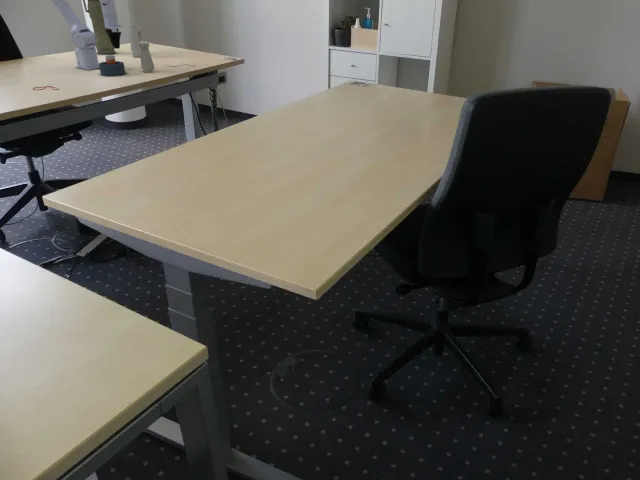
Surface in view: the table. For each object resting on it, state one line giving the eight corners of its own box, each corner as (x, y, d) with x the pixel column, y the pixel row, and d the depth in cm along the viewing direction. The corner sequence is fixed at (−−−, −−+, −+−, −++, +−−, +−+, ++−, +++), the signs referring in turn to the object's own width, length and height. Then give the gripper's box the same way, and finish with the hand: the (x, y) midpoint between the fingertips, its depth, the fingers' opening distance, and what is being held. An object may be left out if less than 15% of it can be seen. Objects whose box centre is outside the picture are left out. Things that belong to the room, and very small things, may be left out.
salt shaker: (152, 73, 246) (147, 42, 240) (140, 72, 246) (134, 42, 240) (156, 70, 251) (152, 40, 245) (144, 70, 251) (139, 40, 245)
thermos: (120, 53, 286) (105, -21, 268) (96, 55, 280) (80, -21, 262) (116, 51, 292) (102, -22, 274) (93, 52, 286) (77, -22, 268)
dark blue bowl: (96, 74, 241) (93, 63, 238) (115, 70, 248) (113, 60, 246) (111, 77, 236) (109, 66, 234) (130, 73, 244) (128, 62, 242)
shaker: (106, 72, 241) (103, 56, 238) (113, 71, 244) (110, 55, 241) (112, 73, 240) (109, 57, 236) (119, 72, 243) (116, 56, 239)
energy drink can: (134, 55, 283) (128, 24, 275) (146, 55, 284) (140, 24, 276) (131, 57, 278) (125, 25, 270) (143, 57, 279) (138, 26, 271)
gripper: (121, 16, 235) (127, 49, 242) (117, 12, 245) (123, 44, 252) (104, 16, 232) (110, 50, 239) (100, 12, 242) (107, 45, 249)
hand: (116, 47), depth 245 cm, fingers open, 7 cm apart
